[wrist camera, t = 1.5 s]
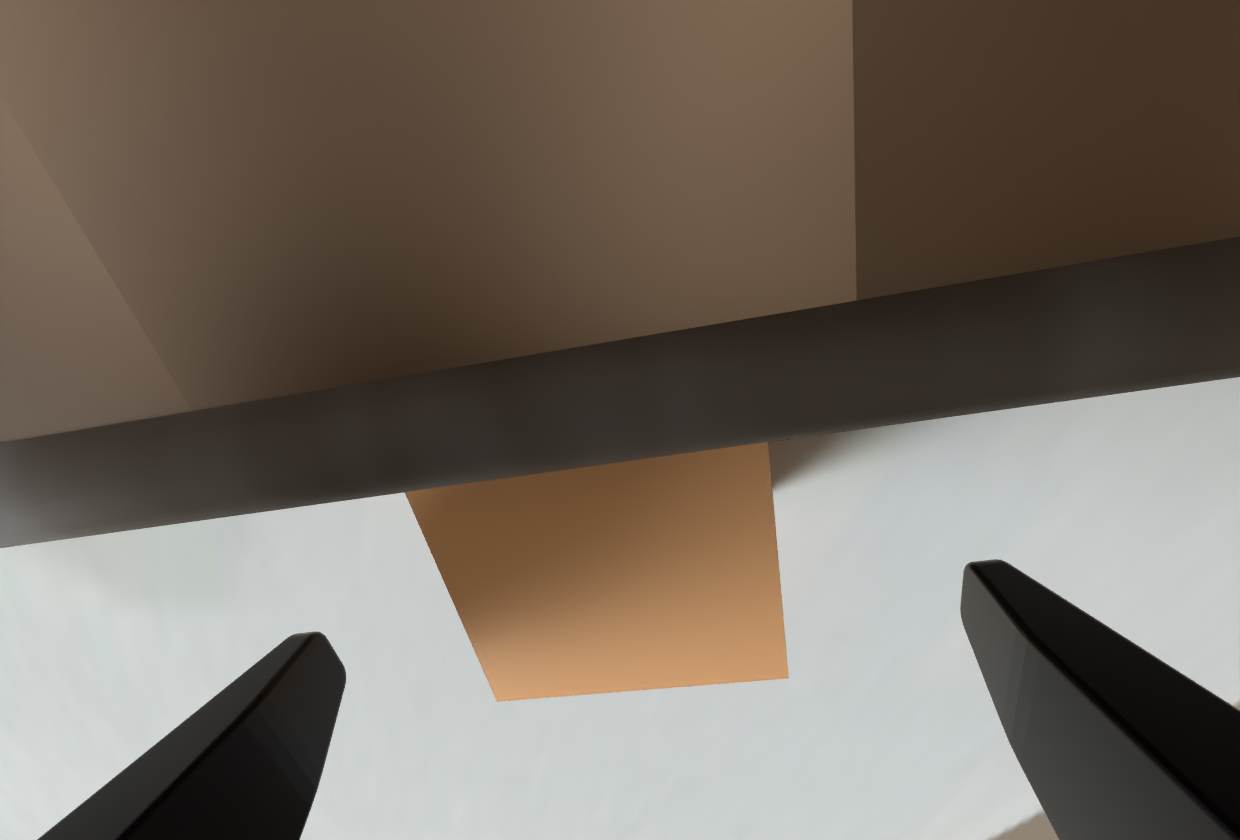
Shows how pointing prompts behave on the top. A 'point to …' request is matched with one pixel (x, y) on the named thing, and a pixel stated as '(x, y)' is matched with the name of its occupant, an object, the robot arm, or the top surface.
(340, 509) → the top surface
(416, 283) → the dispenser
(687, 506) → the orange rectangular block
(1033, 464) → the top surface
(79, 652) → the top surface
